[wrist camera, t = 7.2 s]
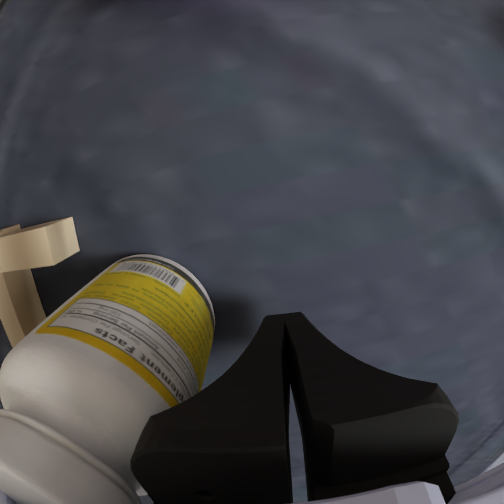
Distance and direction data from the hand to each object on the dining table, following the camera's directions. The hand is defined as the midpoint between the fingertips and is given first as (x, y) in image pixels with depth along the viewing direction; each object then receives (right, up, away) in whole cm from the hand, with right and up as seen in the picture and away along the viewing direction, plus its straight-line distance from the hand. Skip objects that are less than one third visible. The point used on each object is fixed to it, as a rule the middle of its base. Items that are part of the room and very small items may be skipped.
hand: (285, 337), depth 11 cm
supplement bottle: (-5, +1, +2) cm, 6 cm away
